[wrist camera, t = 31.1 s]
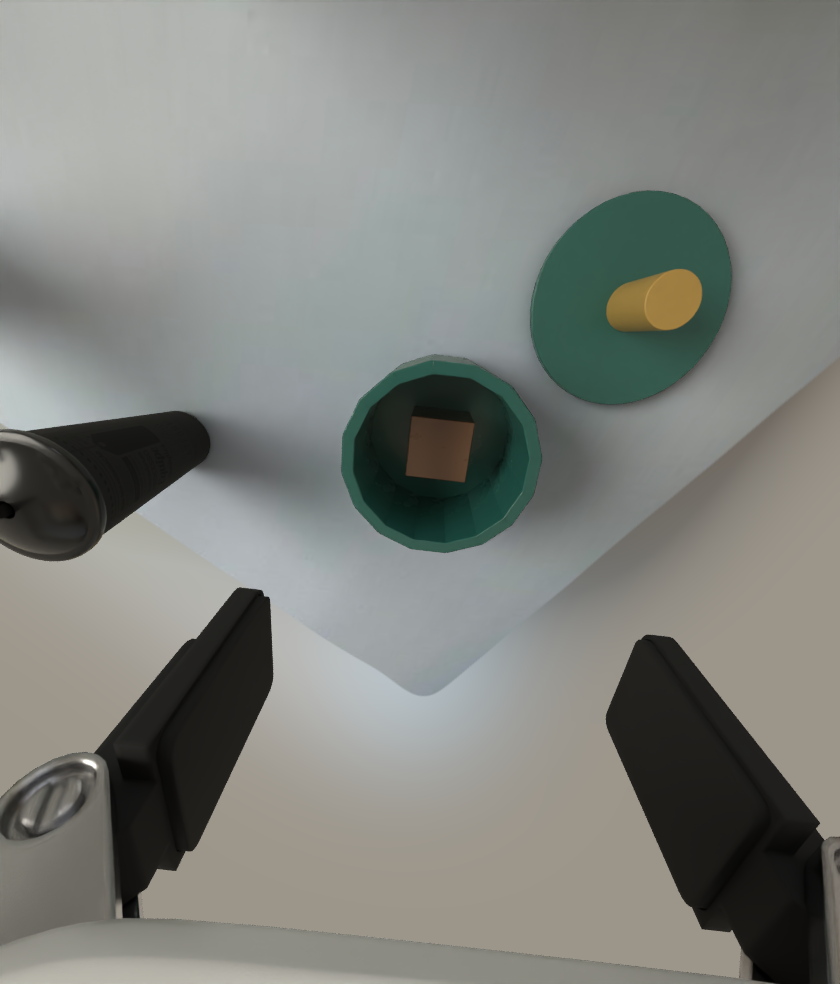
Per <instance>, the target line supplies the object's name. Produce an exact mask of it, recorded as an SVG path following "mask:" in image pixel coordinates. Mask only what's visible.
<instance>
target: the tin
mask: <svg viewBox="0 0 840 984" xmlns="http://www.w3.org/2000/svg"><path fill="white" fill-rule="evenodd" d="M415 405H416V406H424V407H433V408H441V409H450V410H458V411H466V412H470V414H471V416H472V418H473V420H474V423H475V427H474V433H473V439H472V445H471V451H470V457H469V463H468V469H467V475H466V481H465V483H463V482H455V481H446V480H438V479H429V478H421V477H412V476H406V475H405V473H406V463H407V453H408V443H409V434H410V424H411V416H412V413H413V409H414V406H415ZM541 462H542V454H541V448H540V443H539V437H538V432H537V426H536V421H535V419H534V417H533V416H532V414H531V413H530V411H529V410H528V409H527V407H526V406H525V404H524V403H523V401H522V400H521V398H520V397H519V396H518V394H517V393H516V391H515V390H514V388H513V387H511V385H509V384H507V383H506V382H504V381H503V380H501V379H500V378H498V377H496V376H495V375H493V374H492V373H490V372H488V371H487V370H485V369H483V368H482V367H480V366H478V365H477V364H475V363H473V362H472V361H470V360H468V359H466V358H461V357H453V356H444V355H436V354H434V355H429V356H426V357H423V358H419V359H416V360H413V361H409V362H406V363H403V364H401V365H400V366H399V367H397V368H396V369H395V370H393V371H392V372H391V373H390V374H389V375H387V376H386V377H385V378H384V379H383V380H382V381H380V382H379V383H378V384H377V385H376V386H374V387H373V388H372V389H371V390H370V391H369V392H367V393H366V394H365V395H364V396H363V397H362V398H360V400H359V402H358V404H357V406H356V408H355V410H354V412H353V414H352V416H351V418H350V420H349V422H348V424H347V426H346V429H345V431H344V433H343V437H342V465H341V472H342V476H343V478H344V481H345V484H346V486H347V489H348V491H349V494H350V497H351V499H352V502H353V504H354V506H355V508H356V509H357V510H358V511H359V512H360V513H361V514H362V516H363V517H364V518H365V519H366V520H367V521H368V522H369V523H370V524H371V525H372V526H373V527H374V528H375V530H376V531H377V532H378V533H380V534H382V535H384V536H386V537H388V538H390V539H392V540H394V541H396V542H398V543H400V544H402V545H404V546H406V547H408V548H411V549H416V550H424V551H433V552H441V553H446V552H447V553H448V552H452V551H457V550H461V549H465V548H470V547H474V546H478V545H482V544H484V543H485V542H487V541H488V540H490V539H491V538H493V537H495V536H496V535H498V534H499V533H501V532H502V531H504V530H505V529H507V528H508V527H510V526H511V525H512V524H513V523H514V522H515V520H516V519H517V517H518V516H519V515H520V513H521V512H522V511H523V509H524V508H525V506H526V505H527V504H528V502H529V501H530V500H531V498H532V497H533V495H534V491H535V487H536V483H537V479H538V475H539V471H540V466H541Z"/></svg>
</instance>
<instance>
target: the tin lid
mask: <svg viewBox="0 0 840 984" xmlns="http://www.w3.org/2000/svg"><path fill="white" fill-rule="evenodd" d="M730 291H731V262H730V257H729V252H728V248H727V245H726V243H725V240H724V237H723V235H722V233H721V232H720V230H719V228H718V226H717V224H716V223H715V222H714V221H713V219H712V218H711V217H710V216H709V214H707V213H706V212H705V211H704V210H703V209H702V208H701V207H700V206H698V205H697V204H695V203H693V202H692V201H690V200H689V199H687V198H684V197H681V196H679V195H676V194H673V193H668V192H663V191H640V192H632V193H629V194H625V195H621V196H618V197H616V198H613V199H611V200H608V201H606V202H604V203H602V204H601V205H599V206H597V207H595V208H594V209H592V210H591V211H589V212H588V213H587V214H585V215H584V216H583V217H581V218H580V219H579V220H577V221H576V222H575V223H574V224H573V225H572V226H571V227H570V228H569V229H568V230H567V231H566V232H565V233H564V234H563V236H562V237H561V238H560V239H559V240H558V242H557V243H556V244H555V246H554V247H553V249H552V250H551V252H550V253H549V255H548V256H547V258H546V260H545V262H544V264H543V266H542V268H541V270H540V273H539V275H538V278H537V281H536V284H535V287H534V291H533V295H532V301H531V309H530V328H531V337H532V341H533V345H534V349H535V351H536V354H537V357H538V359H539V361H540V363H541V365H542V366H543V368H544V370H545V371H546V372H547V374H548V375H549V376H550V378H551V379H552V380H553V381H554V382H555V383H556V384H557V385H558V386H560V387H561V388H562V389H564V390H565V391H567V392H568V393H570V394H572V395H574V396H576V397H578V398H580V399H583V400H586V401H589V402H594V403H599V404H625V403H630V402H635V401H638V400H641V399H644V398H647V397H650V396H652V395H654V394H656V393H659V392H661V391H662V390H664V389H666V388H667V387H669V386H671V385H672V384H674V383H675V382H676V381H678V380H679V379H680V378H682V377H683V376H684V375H685V374H686V373H687V372H688V371H689V370H690V369H691V368H693V367H694V365H695V364H696V363H697V362H698V361H699V360H700V359H701V357H702V356H703V355H704V353H705V352H706V351H707V349H708V348H709V346H710V345H711V343H712V341H713V340H714V338H715V336H716V334H717V333H718V331H719V328H720V326H721V324H722V321H723V319H724V316H725V313H726V309H727V306H728V302H729V296H730Z"/></svg>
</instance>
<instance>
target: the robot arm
mask: <svg viewBox="0 0 840 984" xmlns="http://www.w3.org/2000/svg"><path fill="white" fill-rule="evenodd" d="M272 682H273V656H272V633H271V610H270V599H269V597H265V596H264V594H263V591H262V590H257V589H248V588H237V589H236V590H235V591H234V592H233V593H232V595H231V596H230V597H229V598H228V600H227V601H226V602H225V603H224V605H223V606H222V607H221V608H220V610H219V611H218V612H217V613H216V615H215V616H214V617H213V619H212V620H211V621H210V622H209V624H208V625H207V626H206V627H205V629H204V630H203V631H202V632H201V634H200V635H199V636H198V637H197V639H191V640H189V641H187V642H186V643H185V644H184V645H183V646H182V647H181V648H180V649H179V651H178V652H177V653H176V654H175V655H174V657H173V658H172V659H171V660H170V662H169V663H168V664H167V665H166V666H165V668H164V669H163V670H162V671H161V673H160V674H159V675H158V676H157V677H156V679H155V680H154V681H153V682H152V683H151V685H150V686H149V687H148V688H147V690H146V691H145V692H144V693H143V694H142V696H141V697H140V698H139V699H138V700H137V702H136V703H135V704H134V705H133V706H132V708H131V709H130V710H129V711H128V713H127V714H126V715H125V716H124V717H123V719H122V720H121V721H120V723H119V724H118V725H117V726H116V727H115V728H114V730H113V731H112V732H111V733H110V734H109V736H108V737H107V738H106V739H105V741H104V742H103V743H102V744H101V745H100V747H99V748H98V749H97V750H96V751H95V753H94V754H93V753H88V752H82V753H72V754H68V755H65V756H61V757H58V758H55V759H53V760H51V761H49V762H47V763H45V764H43V765H41V766H39V767H37V768H35V769H34V770H32V771H31V772H30V773H28V774H27V775H25V776H24V777H23V778H21V779H20V780H18V781H17V782H16V783H15V784H14V785H13V786H12V787H11V788H10V789H9V790H8V791H7V792H6V793H5V794H4V795H3V796H2V797H1V798H0V984H840V837H829V838H828V839H826V840H824V839H823V838H822V837H821V835H820V834H819V833H818V831H817V830H816V828H817V827H818V825H819V824H820V822H819V821H818V820H817V818H816V817H815V816H814V815H813V814H812V812H811V811H810V810H809V808H808V807H807V806H806V805H805V803H804V802H803V801H802V799H801V798H800V797H799V796H798V795H797V793H796V792H795V791H794V790H793V788H792V787H791V786H790V784H789V783H788V782H787V781H786V779H785V778H784V777H783V776H782V774H781V773H780V772H779V770H778V769H777V768H776V767H775V765H774V764H773V763H772V762H771V760H770V759H769V758H768V757H767V755H766V754H765V753H764V752H763V750H762V749H761V748H760V747H759V745H758V744H757V743H756V741H755V740H754V739H753V738H752V736H751V735H750V734H749V733H748V731H747V730H746V729H745V728H744V726H743V725H742V724H741V722H740V721H739V720H738V719H737V717H736V716H735V715H734V714H733V712H732V711H731V710H730V709H729V707H728V706H727V705H726V704H725V702H724V701H723V700H722V699H721V697H720V696H719V695H718V693H717V692H716V691H715V690H714V688H713V687H712V686H711V685H710V683H709V682H708V681H707V680H706V678H705V677H704V676H703V675H702V673H701V672H700V671H699V669H698V668H697V667H696V666H695V664H694V663H693V662H692V661H691V659H690V658H689V657H688V656H687V654H686V653H685V652H684V651H683V649H682V648H681V647H680V646H679V644H678V643H677V642H676V641H675V640H674V639H673V638H671V637H665V636H656V635H645V636H644V637H643V638H642V639H641V640H638V641H637V642H636V643H635V645H634V648H633V650H632V653H631V655H630V658H629V660H628V662H627V665H626V667H625V670H624V672H623V675H622V677H621V679H620V682H619V685H618V687H617V689H616V692H615V694H614V696H613V699H612V701H611V704H610V706H609V709H608V711H607V714H606V725H607V728H608V731H609V733H610V736H611V738H612V740H613V743H614V745H615V747H616V749H617V752H618V754H619V756H620V758H621V761H622V763H623V765H624V768H625V770H626V772H627V775H628V777H629V779H630V781H631V784H632V786H633V788H634V790H635V793H636V795H637V797H638V800H639V802H640V804H641V806H642V809H643V811H644V813H645V816H646V818H647V820H648V822H649V824H650V827H651V829H652V831H653V834H654V836H655V838H656V841H657V843H658V845H659V847H660V850H661V852H662V854H663V857H664V859H665V861H666V863H667V866H668V868H669V870H670V872H671V875H672V877H673V879H674V881H675V884H676V886H677V888H678V891H679V893H680V895H681V897H682V898H683V900H684V901H685V902H686V904H688V905H689V906H690V907H692V908H693V911H694V913H695V915H696V917H697V919H698V922H699V924H700V926H701V928H702V929H705V930H715V931H723V932H730V931H731V930H733V932H734V934H735V936H736V938H737V940H738V942H739V944H740V946H741V958H740V971H739V978H731V977H723V976H714V975H706V974H697V973H689V972H680V971H671V970H663V969H655V968H646V967H637V966H629V965H620V964H611V963H603V962H594V961H586V960H577V959H567V958H559V957H550V956H541V955H532V954H522V953H514V952H504V951H494V950H485V949H477V948H467V947H458V946H449V945H440V944H431V943H422V942H413V941H403V940H393V939H384V938H374V937H365V936H355V935H344V934H336V933H325V932H316V931H307V930H297V929H287V928H277V927H268V926H256V925H243V924H231V923H217V922H206V921H193V920H181V919H144V918H143V907H142V897H141V892H142V891H143V890H145V889H146V888H147V887H148V885H149V883H150V881H151V879H152V877H153V876H154V874H155V872H156V870H157V869H163V870H172V871H176V870H177V868H178V866H179V864H180V861H181V859H182V857H183V855H184V853H185V851H193V850H194V848H195V847H196V846H197V844H198V842H199V840H200V838H201V836H202V834H203V832H204V830H205V828H206V825H207V823H208V821H209V819H210V817H211V815H212V813H213V811H214V809H215V806H216V804H217V802H218V800H219V798H220V796H221V794H222V792H223V789H224V787H225V785H226V783H227V781H228V779H229V777H230V774H231V772H232V770H233V768H234V766H235V764H236V761H237V760H238V757H239V755H240V753H241V751H242V749H243V747H244V745H245V742H246V740H247V738H248V736H249V734H250V732H251V730H252V727H253V726H254V723H255V721H256V719H257V717H258V715H259V713H260V711H261V709H262V706H263V704H264V702H265V700H266V698H267V696H268V693H269V691H270V689H271V685H272Z"/></svg>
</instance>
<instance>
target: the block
mask: <svg viewBox="0 0 840 984" xmlns="http://www.w3.org/2000/svg"><path fill="white" fill-rule="evenodd" d="M474 427H475V423H474V420H473V418H472V416H471V414H470V412H466V411H458V410H450V409H441V408H433V407H424V406H416V405H415V406H414V409H413V413H412V416H411V424H410V434H409V443H408V453H407V463H406V473H405V475H406V476H412V477H421V478H429V479H438V480H446V481H455V482H463V483H465V481H466V475H467V469H468V463H469V457H470V451H471V445H472V439H473V433H474Z"/></svg>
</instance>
